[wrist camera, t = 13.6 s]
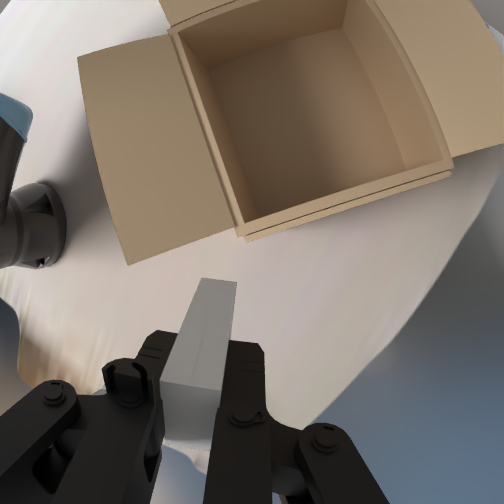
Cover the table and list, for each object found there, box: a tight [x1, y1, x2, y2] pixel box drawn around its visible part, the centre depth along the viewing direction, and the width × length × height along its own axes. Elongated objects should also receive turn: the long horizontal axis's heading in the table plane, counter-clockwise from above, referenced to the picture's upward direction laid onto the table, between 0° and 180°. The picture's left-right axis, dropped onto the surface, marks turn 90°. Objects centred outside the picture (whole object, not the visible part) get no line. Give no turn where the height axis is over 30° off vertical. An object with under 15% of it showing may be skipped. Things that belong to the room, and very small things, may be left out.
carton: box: [77, 0, 504, 266], centre depth 28 cm, size 25×40×17 cm, turn 109°
